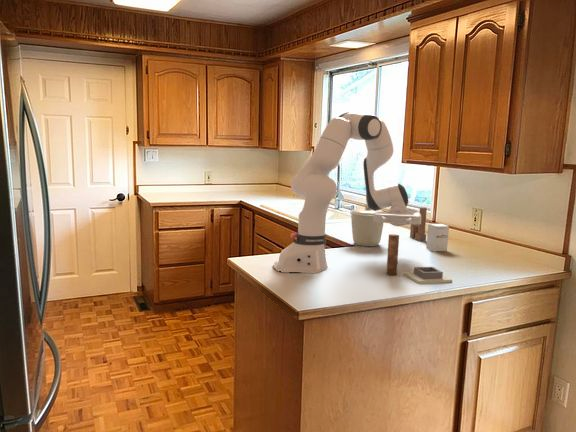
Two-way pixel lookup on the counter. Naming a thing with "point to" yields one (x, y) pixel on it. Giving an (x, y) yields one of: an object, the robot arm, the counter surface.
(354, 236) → the canister
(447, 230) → the supplement box
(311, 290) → the counter surface
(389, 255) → the walnut dowel
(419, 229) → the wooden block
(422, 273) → the dowel holder
